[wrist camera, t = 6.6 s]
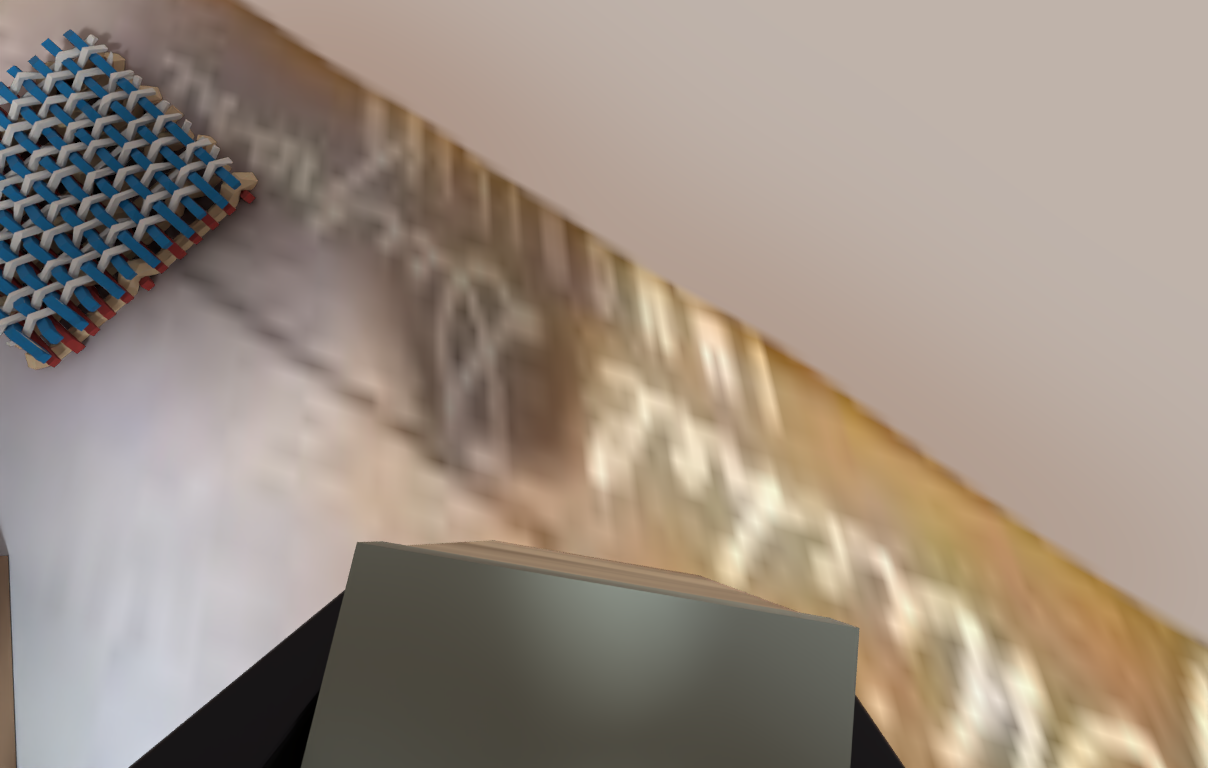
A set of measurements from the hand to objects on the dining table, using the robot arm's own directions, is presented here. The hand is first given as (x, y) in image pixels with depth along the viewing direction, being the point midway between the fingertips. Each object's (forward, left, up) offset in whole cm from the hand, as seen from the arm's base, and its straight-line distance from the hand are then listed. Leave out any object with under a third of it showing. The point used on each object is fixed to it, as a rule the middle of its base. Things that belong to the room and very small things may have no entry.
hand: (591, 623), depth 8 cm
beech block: (-1, +1, -7) cm, 7 cm away
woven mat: (+18, +16, -14) cm, 28 cm away
